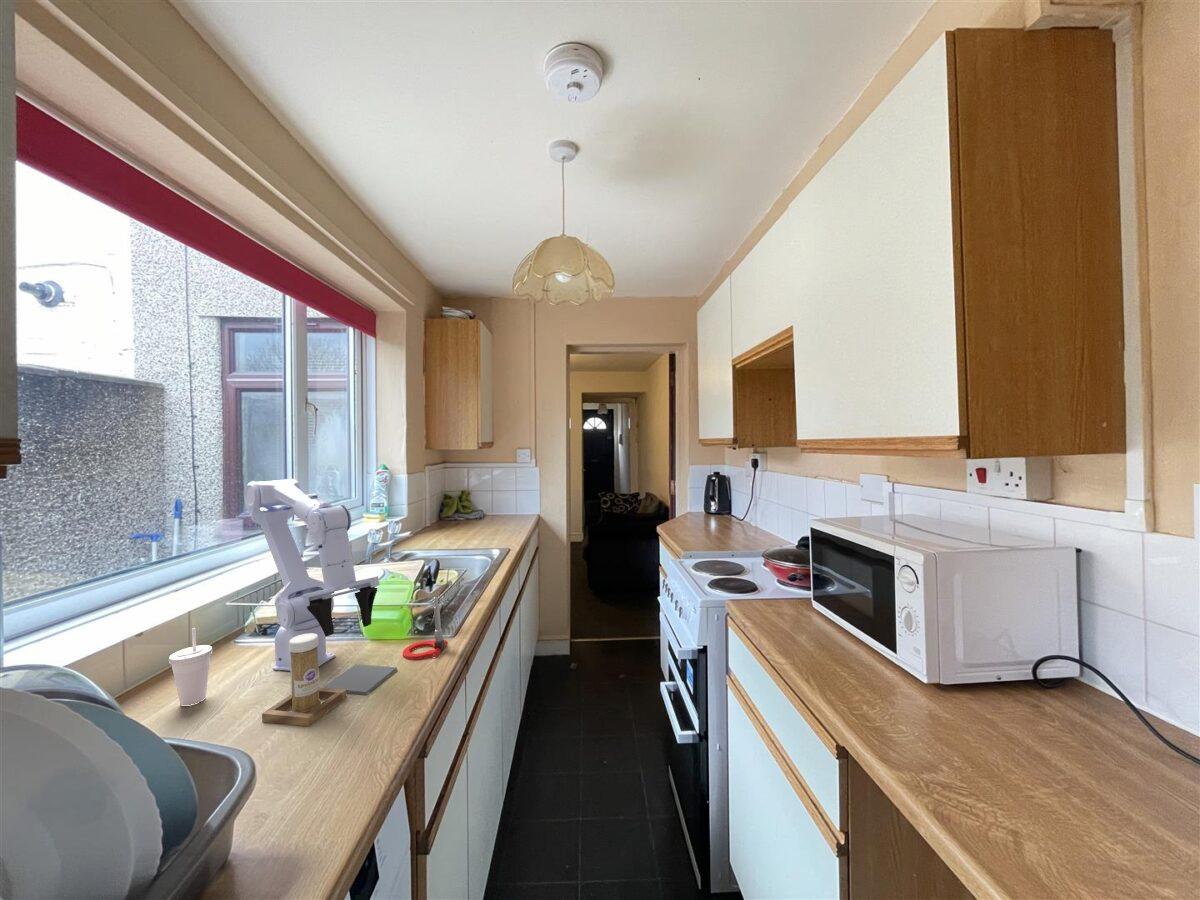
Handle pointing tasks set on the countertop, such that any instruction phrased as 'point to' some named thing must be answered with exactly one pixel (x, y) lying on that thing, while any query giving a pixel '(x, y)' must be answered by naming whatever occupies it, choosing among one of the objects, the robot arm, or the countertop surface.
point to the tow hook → (437, 644)
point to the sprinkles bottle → (304, 672)
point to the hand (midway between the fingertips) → (348, 630)
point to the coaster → (361, 678)
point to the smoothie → (191, 671)
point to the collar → (304, 719)
